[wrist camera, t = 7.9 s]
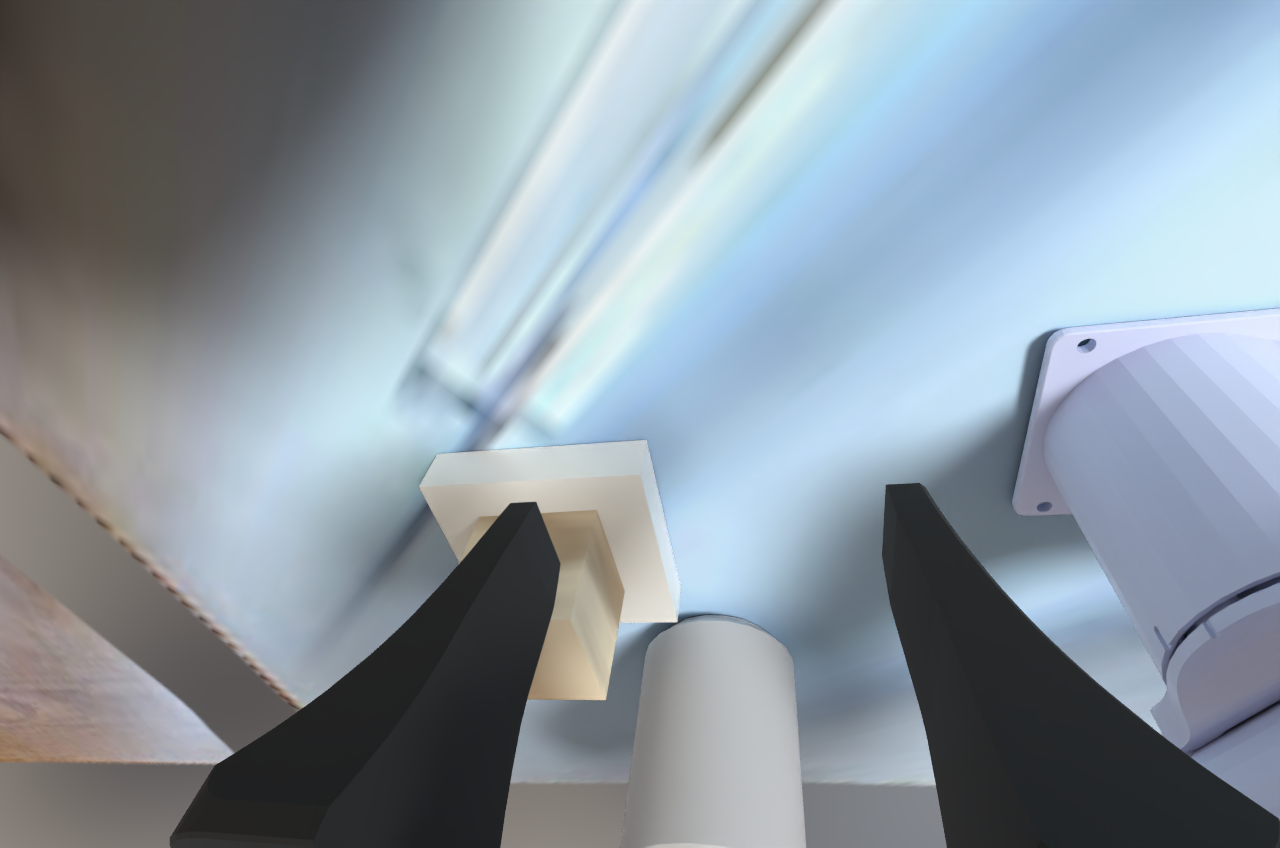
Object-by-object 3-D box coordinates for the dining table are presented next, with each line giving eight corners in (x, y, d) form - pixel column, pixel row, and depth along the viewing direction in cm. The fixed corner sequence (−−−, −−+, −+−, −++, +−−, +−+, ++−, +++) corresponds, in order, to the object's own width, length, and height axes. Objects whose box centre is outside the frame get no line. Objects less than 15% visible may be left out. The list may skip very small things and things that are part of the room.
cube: (596, 509, 25) (570, 619, 21) (625, 591, 28) (606, 700, 24) (479, 516, 26) (433, 622, 22) (518, 593, 29) (483, 698, 25)
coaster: (646, 439, 25) (640, 474, 24) (680, 586, 31) (677, 622, 29) (437, 453, 27) (418, 486, 26) (504, 589, 32) (491, 623, 31)
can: (697, 699, 37) (681, 967, 27) (618, 628, 33) (570, 906, 24) (819, 669, 33) (849, 962, 24) (745, 587, 30) (746, 891, 21)
